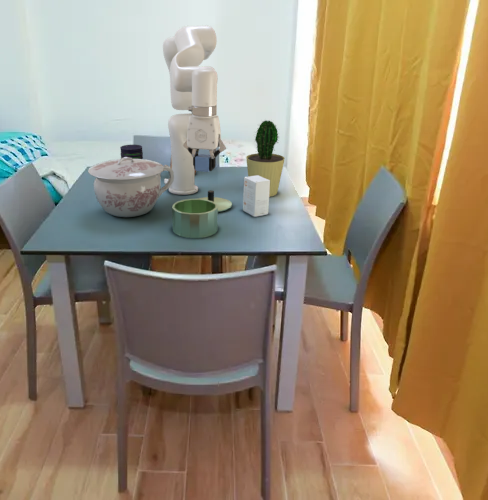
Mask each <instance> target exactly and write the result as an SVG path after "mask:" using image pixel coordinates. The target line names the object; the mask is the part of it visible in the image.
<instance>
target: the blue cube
mask: <svg viewBox="0 0 488 500" xmlns="http://www.w3.org/2000/svg"><path fill="white" fill-rule="evenodd" d="M209 159H210V154H205V153H200V154H198V156H196V157H195V171H196V172H204V173H209V172H210V171H209Z"/></svg>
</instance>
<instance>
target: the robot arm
mask: <svg viewBox="0 0 488 500" xmlns="http://www.w3.org/2000/svg"><path fill="white" fill-rule="evenodd" d="M216 47H217V34H216V31H215V29H214V28H213V27H212V26H211V25H183V26H181V27H179V28H178V29H177V30H176V31H175V33H174V36H169V37H166V38H165V39H164V40H163V43H162V53H163V58H164V61H165V63H166V67H167V69H168V73H169V89H170V91H169V92H170V103H171V107H172V108H173V109H174V110H176V111H188V112H191V113H176V114H174V115H172V116H170V117H169V119H168V122H167V126H168V127H167V128H168V133H169V139H170V163H171V162H172V170H173V172H174V180H173V182H172V184H171V185H170V187H169V188H168V192H169V193H171V194H173V195H180V196H184V195H186V196H187V195H193V194H196V193H197V192H199V186H198V185H196V183H195V182H196V181H195V180H196V179H195V178H196V173H195V157H196V156H198V155H199V151H200V150H205V151H208V152H209V155H210V159H209V172H212V171H214V170H215V169H216V166H217V165H216V163H217V161H216V160H217V159H216V158H217V157H218V156H219V155H220V154H221V153H223V152H224V151H225V150H227V147H226V145H225V143H224V142H223V140H222V133H221V131H222V130H221V123H220V118H219V115H217V109H218V108H217V104H218V103H217V102H218V99H217V98H218V73H217V71H216V70H215V68H214V67H213V66H209V65H205V66H202V65H201V64H202V63H203V62H204V61H206V60H208V59H209V58H210V57H211V55H212V54H213V53H214V52H215V49H216ZM217 148H218V149H217ZM168 181H169V178H164V179H163V184H164V185H166V183H167V182H168Z"/></svg>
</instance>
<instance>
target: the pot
mask: <svg viewBox="0 0 488 500" xmlns="http://www.w3.org/2000/svg"><path fill="white" fill-rule="evenodd" d="M218 215H219V212H218V205H217V204H216V203H215V202H213V201H209V200H205V199H198V198H188V199H181V200H178V201H176V202H174V203H173V204H172V207H171V218H172V232H173V233H174V234H175V235H177V236H178V237H181V238H187V239H203V238H208V237H211V236H214V235H215V234H216V233H217V232H218V222H219V219H218V217H219V216H218Z"/></svg>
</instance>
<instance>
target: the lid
mask: <svg viewBox="0 0 488 500" xmlns="http://www.w3.org/2000/svg"><path fill="white" fill-rule="evenodd" d="M197 199H205V200H209V201H213V202H215V203H216V204H217V205H218V213H219V212H224V211H225V212H226V211H228V210H229V209H231V208H232V207H233V202H232V201H230V200H229V199H226V198H223V197H217V196H215V191H214V190H212V189H211V190H207V196H206V197H199V198H197Z"/></svg>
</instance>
